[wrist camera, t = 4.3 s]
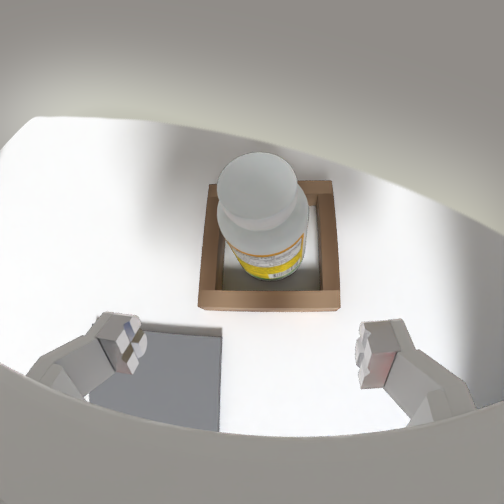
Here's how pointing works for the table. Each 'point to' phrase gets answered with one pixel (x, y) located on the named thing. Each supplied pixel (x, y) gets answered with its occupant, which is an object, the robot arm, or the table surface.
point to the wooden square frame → (273, 300)
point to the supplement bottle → (263, 215)
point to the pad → (169, 382)
